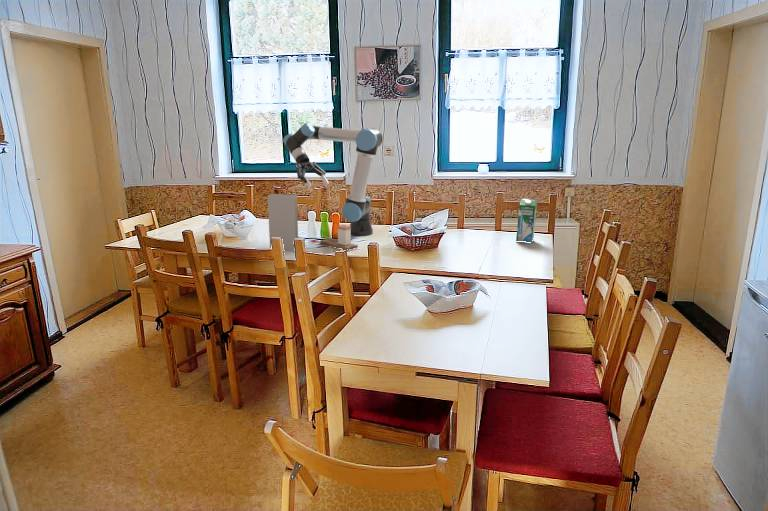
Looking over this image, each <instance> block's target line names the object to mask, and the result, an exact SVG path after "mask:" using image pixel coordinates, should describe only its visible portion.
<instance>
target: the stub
mask: <svg viewBox="0 0 768 511" xmlns="http://www.w3.org/2000/svg"><path fill="white" fill-rule="evenodd" d="M351 237H352V234H351V226H350V225H346V224H341V225H337V240H338V244H342V245H349V244H352V242H351V241H352V238H351Z"/></svg>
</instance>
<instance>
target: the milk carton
mask: <svg viewBox="0 0 768 511" xmlns="http://www.w3.org/2000/svg"><path fill="white" fill-rule="evenodd" d="M518 207H519V208H518V217H517V228H516V229H517V230H516V237H515V238H516V240H515V242H516V241H526V242H532V240H533V241H534V239H533V238H534V237H535V227H536V218H537V209H538V199H531V198H521V199H520V202H519V205H518ZM532 243H533V242H532Z"/></svg>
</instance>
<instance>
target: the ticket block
mask: <svg viewBox="0 0 768 511" xmlns="http://www.w3.org/2000/svg"><path fill="white" fill-rule="evenodd" d="M319 241H320V242H319V244H320V245H322V246H327V247H329V246H331V247H330V248H333V247H336V248H335V249H337V248H342V249H343V250H342V251H344V250H347V249H348V250H349V249H353V248H357V247H358V248H359V244H355V243H351V244H349V245H342V244H338V239H336V238H335V239H334V238H331V237H330V238H326V239H322V240H321V239H320V240H319Z"/></svg>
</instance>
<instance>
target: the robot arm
mask: <svg viewBox="0 0 768 511" xmlns="http://www.w3.org/2000/svg"><path fill="white" fill-rule="evenodd" d="M383 138H384V137H383V134H382V132H381V131H380V129H377V128H375V127H369V128H368V127H367V128H361V129H360V130H359V129H348V128H338V127H328V126H327V127H326V126H317V125H312V124H310V123H308V122H305V123H303V124H302V125H301V126H300V128H298V129H297V131H295V133H294V134H293V133H289V134H287V135H285V136H284V137H283V140H282V141H283V143H284V145H285V148H287V150H288V151H289V153H290V154H291V156H292V158H293V160H294V161H295V163H296V165H295V169H296V175H297V179H299V180H300V181H303V183H304V184H305V185H306V187H307V188H308V189H310V188H311V187H312V184H311V182H310V180H309V179H308V178H307V176H305V175H306V172H309V171H310V172H313V173H315V174H317V175H318V176H319V177H320V179H321V181H322V182H323V184H324V186H325V187H327V186H328V185H329V183H330V182H329V180H328V179H327V177H326V174H327V172H326V171H325V170H324V169H322V168H321V167H320V166H319V165H318V164H317V163H316V161H313V162H311V160H310V158H309V156H308V154H307V153H306V151H305V150H304V148H303V147H302V146H303V145H304V143H306V142H307V141H308V140H309V141H310V140H318V141H319V140H320V141H329V142H331V141H332V142H342V143H351V144H352V143H353V144H356V148H355V152H356V153H357V157H356V161H355V165H354V166H355V168H354V172H353V176H352V181H351V186H350V191H349V192H350V193H349V194H348V195H347V196H346V198H345V204H344V205H343V206H342V208H341V214H342V216H343V218H344V219H345V220H346V221H347V222H350V224H349V226H351V235H352V234H353V235H352V236H369V235H373V232H374V230H373V227H372V223H371V198H370V196H366V191H367V190H366V189H367V187H368V181H369V176H370V171H371V166H372V162H373V158H374V157H375V156H376V155H377V151H378V147H380V146H381V145H382V143H383V140H384V139H383Z"/></svg>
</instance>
